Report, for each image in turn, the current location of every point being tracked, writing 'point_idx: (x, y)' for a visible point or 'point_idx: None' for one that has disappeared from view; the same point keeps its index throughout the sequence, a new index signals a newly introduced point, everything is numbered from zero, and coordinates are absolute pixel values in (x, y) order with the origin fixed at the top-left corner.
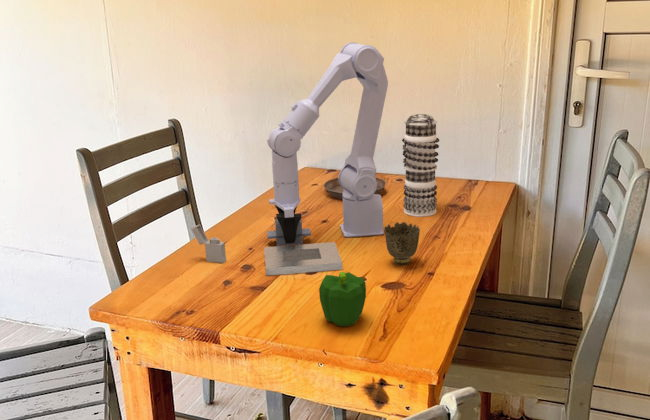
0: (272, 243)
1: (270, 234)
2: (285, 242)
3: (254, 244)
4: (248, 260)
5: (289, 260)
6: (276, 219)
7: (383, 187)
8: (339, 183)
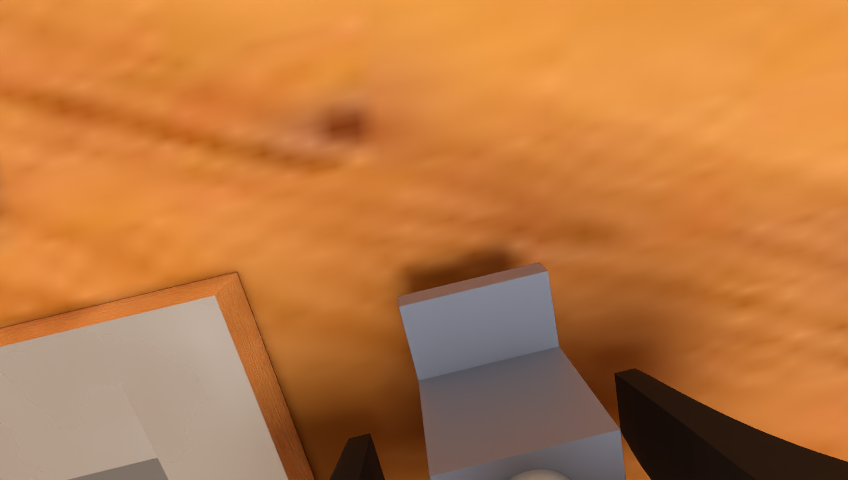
0: None
1: (458, 321)
2: (348, 442)
3: (450, 139)
4: (73, 167)
5: (122, 474)
6: (603, 450)
7: None
8: None
